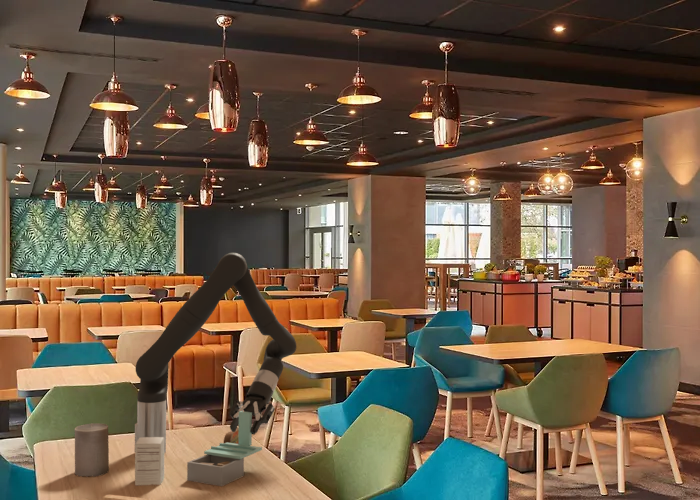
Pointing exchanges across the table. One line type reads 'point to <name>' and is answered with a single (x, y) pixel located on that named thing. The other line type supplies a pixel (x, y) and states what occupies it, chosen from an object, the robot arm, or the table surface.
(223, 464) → the walnut block
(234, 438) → the tin
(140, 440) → the supplement box
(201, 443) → the table surface
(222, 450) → the lid
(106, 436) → the pillar candle
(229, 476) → the tub
